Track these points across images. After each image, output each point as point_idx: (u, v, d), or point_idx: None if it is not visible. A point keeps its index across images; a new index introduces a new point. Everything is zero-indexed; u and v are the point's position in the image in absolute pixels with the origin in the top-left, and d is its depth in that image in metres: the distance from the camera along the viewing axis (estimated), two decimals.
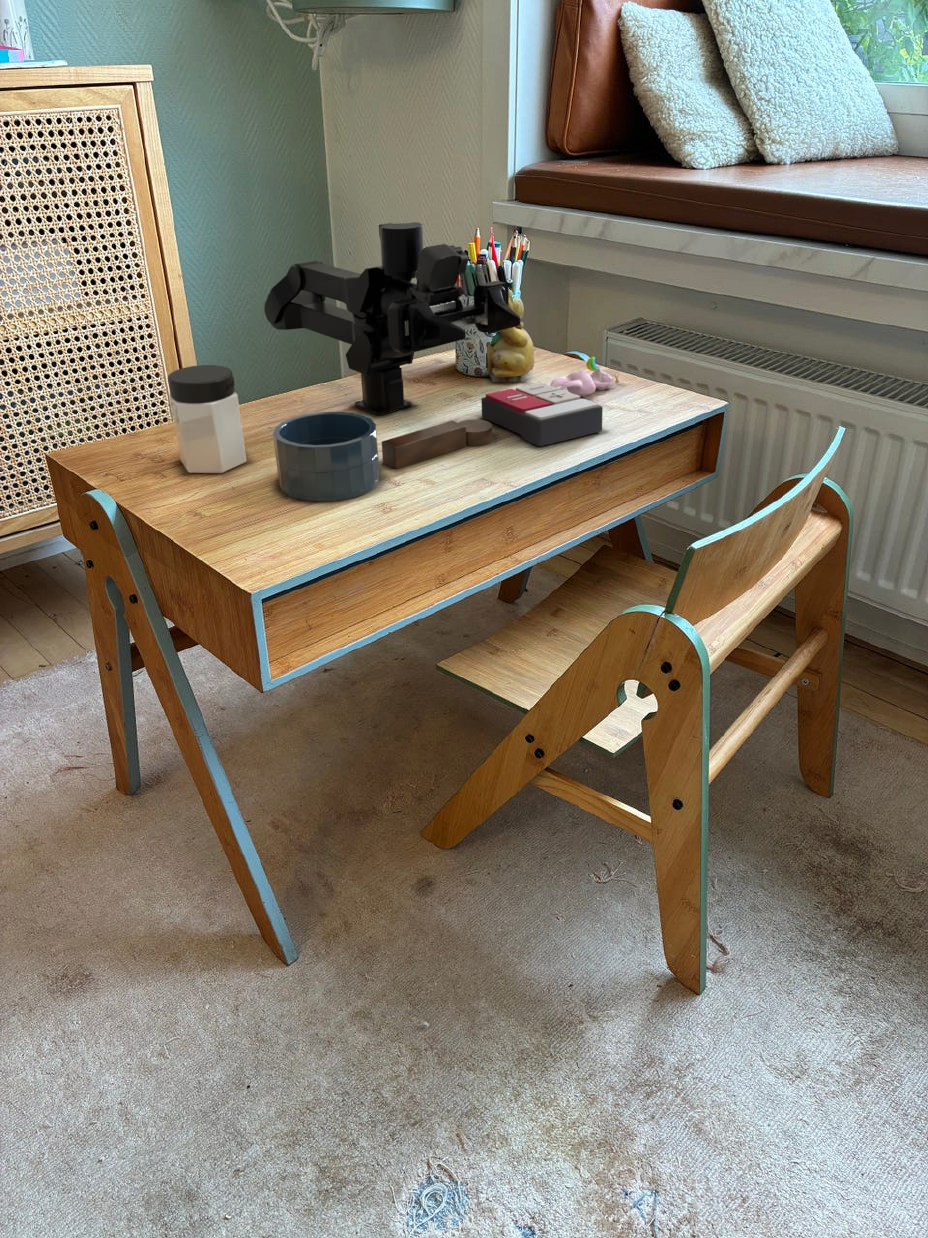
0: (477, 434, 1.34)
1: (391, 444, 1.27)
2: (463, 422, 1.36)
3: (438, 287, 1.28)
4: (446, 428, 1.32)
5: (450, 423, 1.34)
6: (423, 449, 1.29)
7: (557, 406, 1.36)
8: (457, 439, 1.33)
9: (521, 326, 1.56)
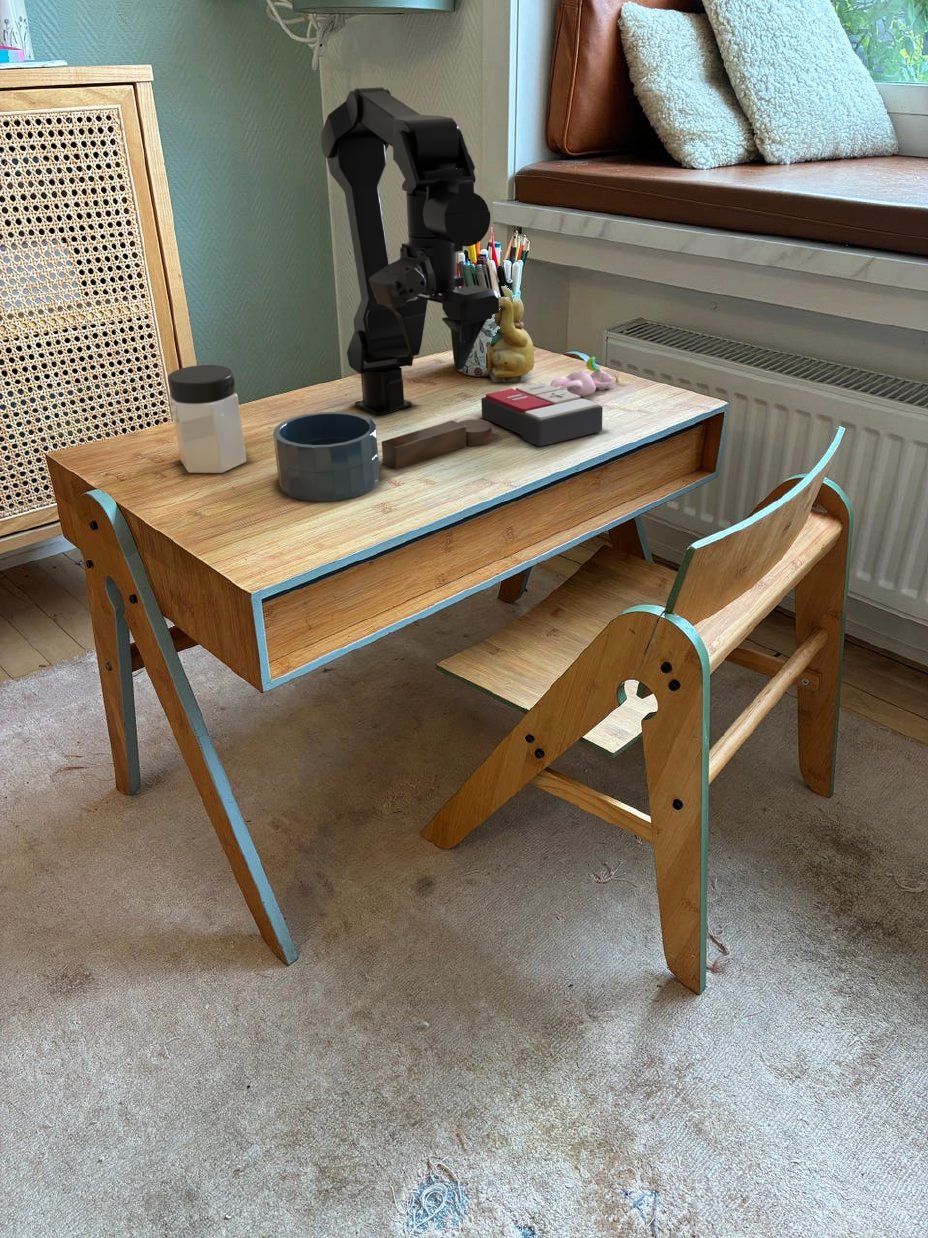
0: (477, 434, 1.34)
1: (391, 444, 1.27)
2: (463, 422, 1.36)
3: None
4: (446, 428, 1.32)
5: (450, 423, 1.34)
6: (423, 449, 1.29)
7: (557, 406, 1.36)
8: (457, 439, 1.33)
9: (521, 326, 1.56)
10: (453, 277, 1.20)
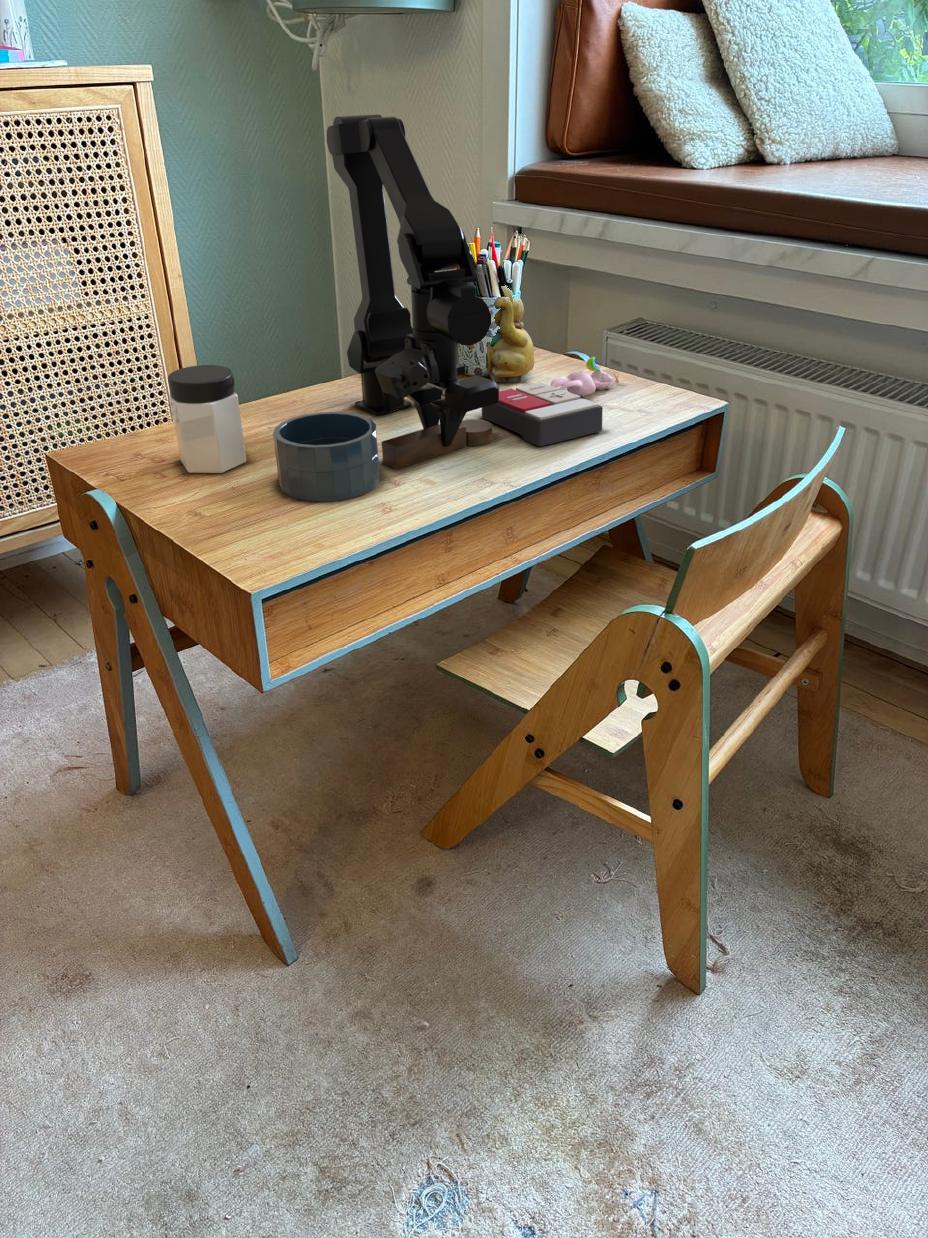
0: (477, 434, 1.34)
1: (391, 444, 1.27)
2: (463, 422, 1.36)
3: None
4: None
5: None
6: (423, 449, 1.29)
7: (557, 406, 1.36)
8: (457, 439, 1.33)
9: (521, 326, 1.56)
10: (455, 366, 1.26)
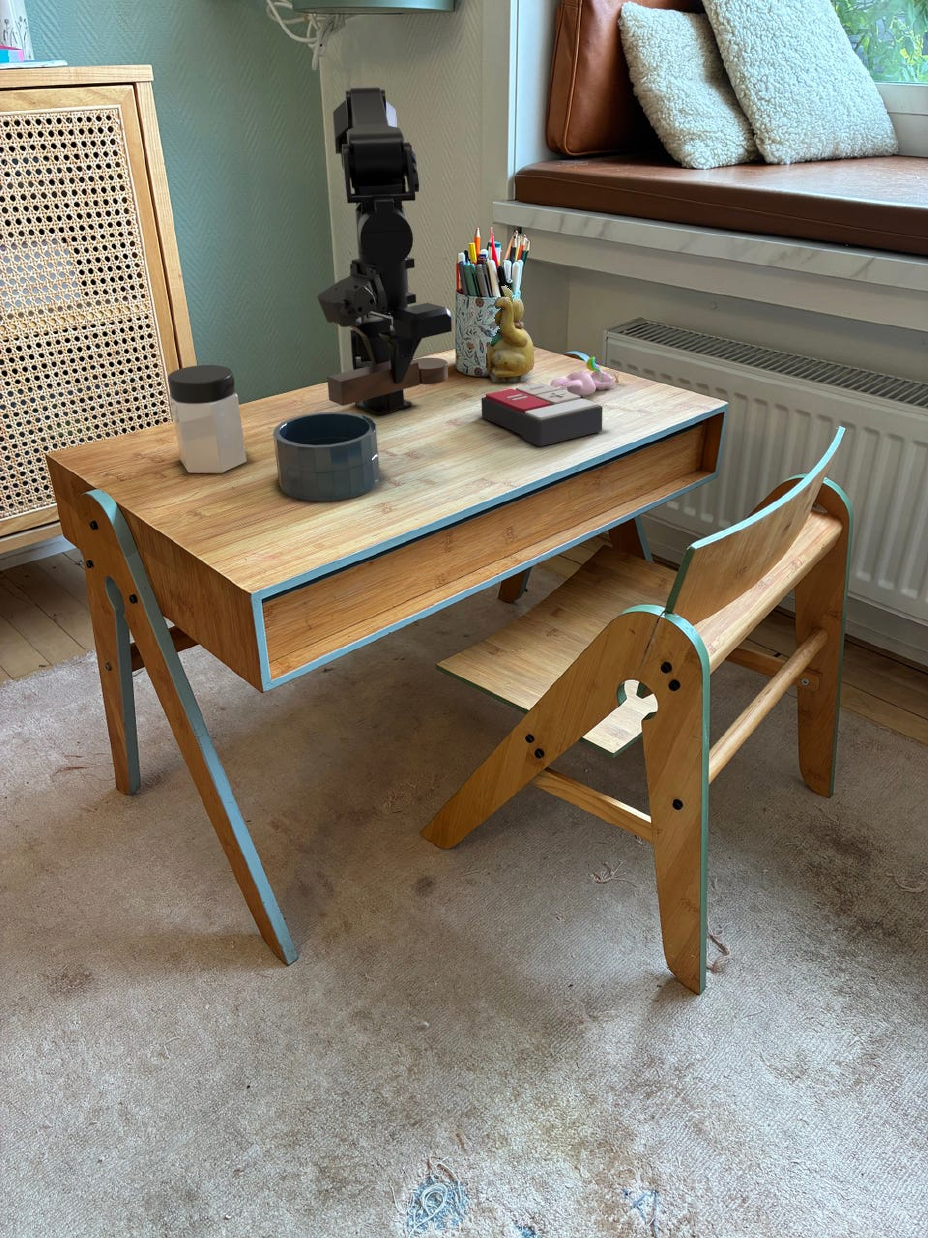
0: (431, 370, 1.25)
1: (337, 379, 1.18)
2: (417, 360, 1.28)
3: None
4: None
5: None
6: (372, 385, 1.20)
7: (557, 406, 1.36)
8: (410, 376, 1.24)
9: (521, 326, 1.56)
10: (405, 294, 1.17)
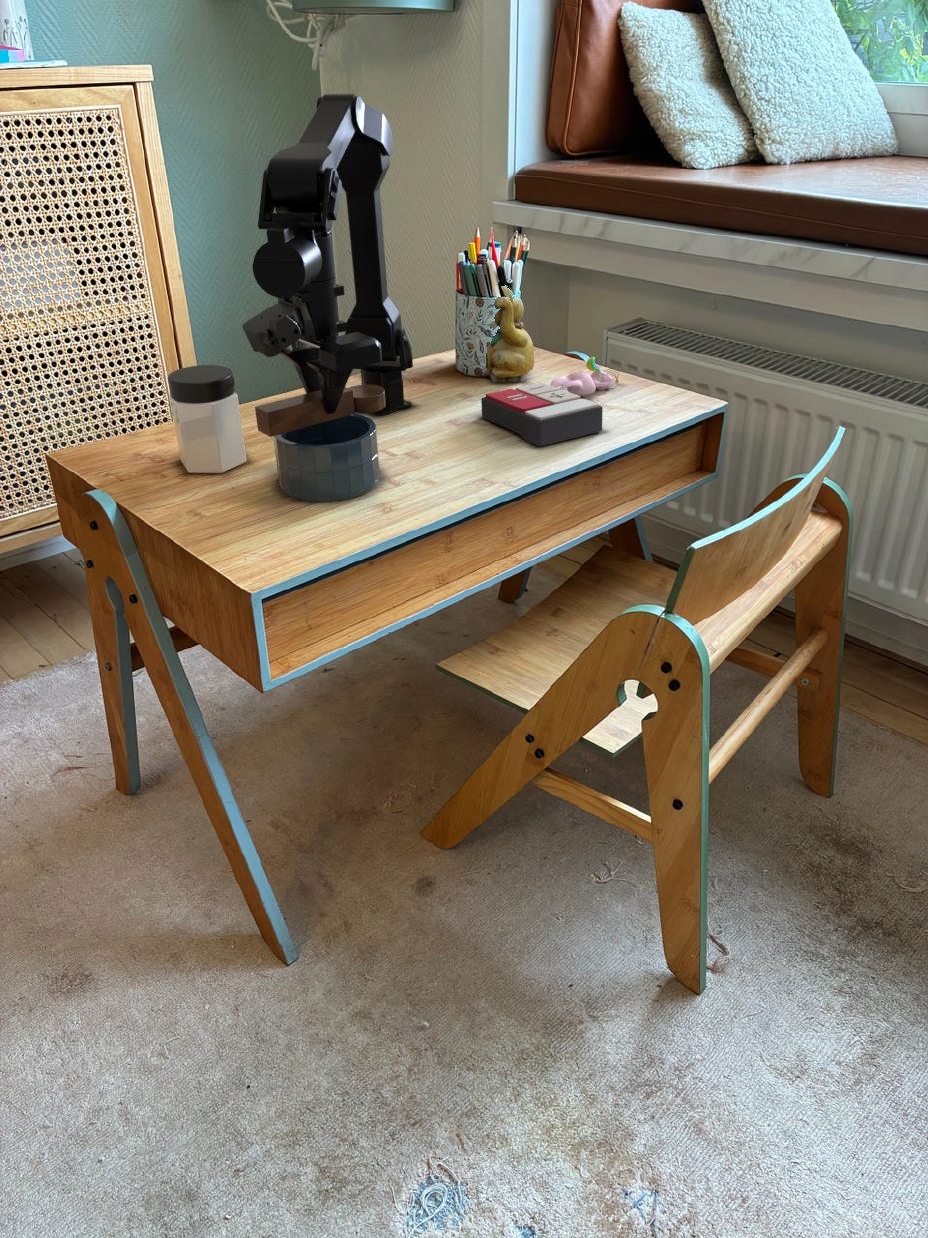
0: (366, 399, 1.21)
1: (264, 409, 1.14)
2: (353, 388, 1.24)
3: None
4: None
5: None
6: (302, 415, 1.17)
7: (557, 406, 1.36)
8: (343, 405, 1.20)
9: (521, 326, 1.56)
10: (334, 322, 1.13)
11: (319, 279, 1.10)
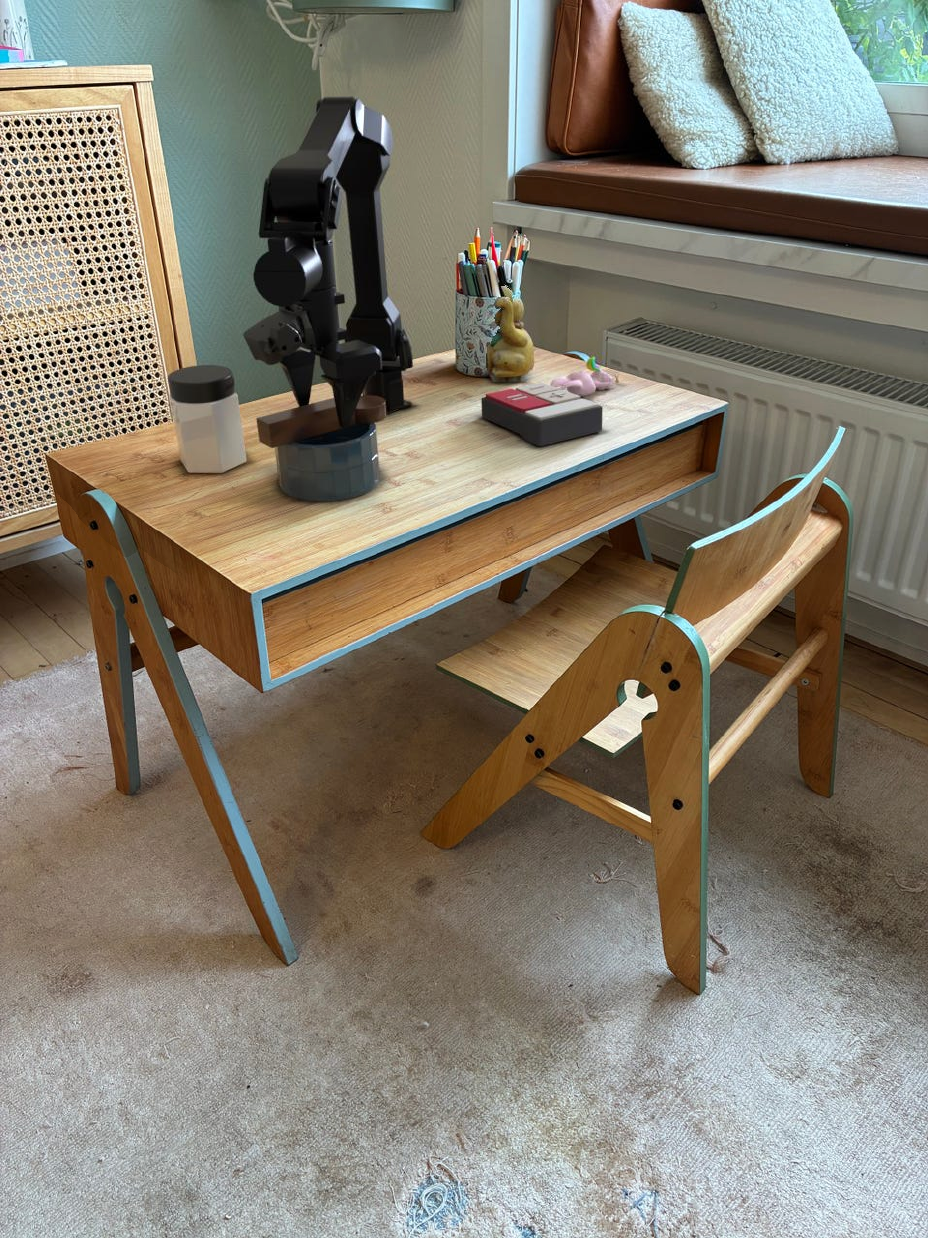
0: (367, 410, 1.21)
1: (265, 421, 1.15)
2: None
3: None
4: (331, 404, 1.20)
5: None
6: (303, 427, 1.17)
7: (557, 406, 1.36)
8: None
9: (521, 326, 1.56)
10: (335, 330, 1.14)
11: (320, 287, 1.10)
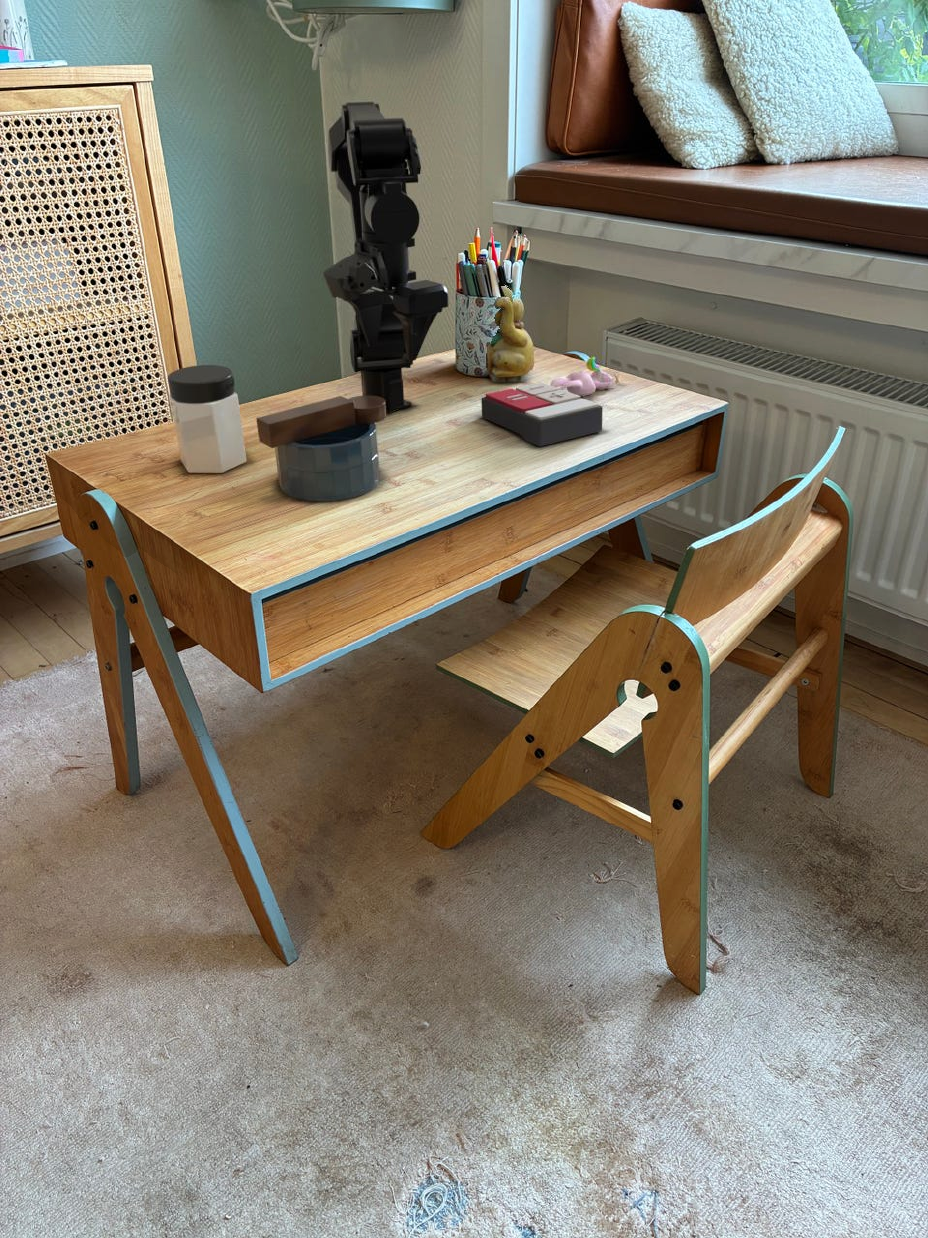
0: (367, 410, 1.21)
1: (265, 421, 1.15)
2: (354, 399, 1.24)
3: None
4: (331, 404, 1.20)
5: (337, 398, 1.22)
6: (303, 427, 1.17)
7: (557, 406, 1.36)
8: (344, 416, 1.21)
9: (521, 326, 1.56)
10: (405, 271, 1.25)
11: None
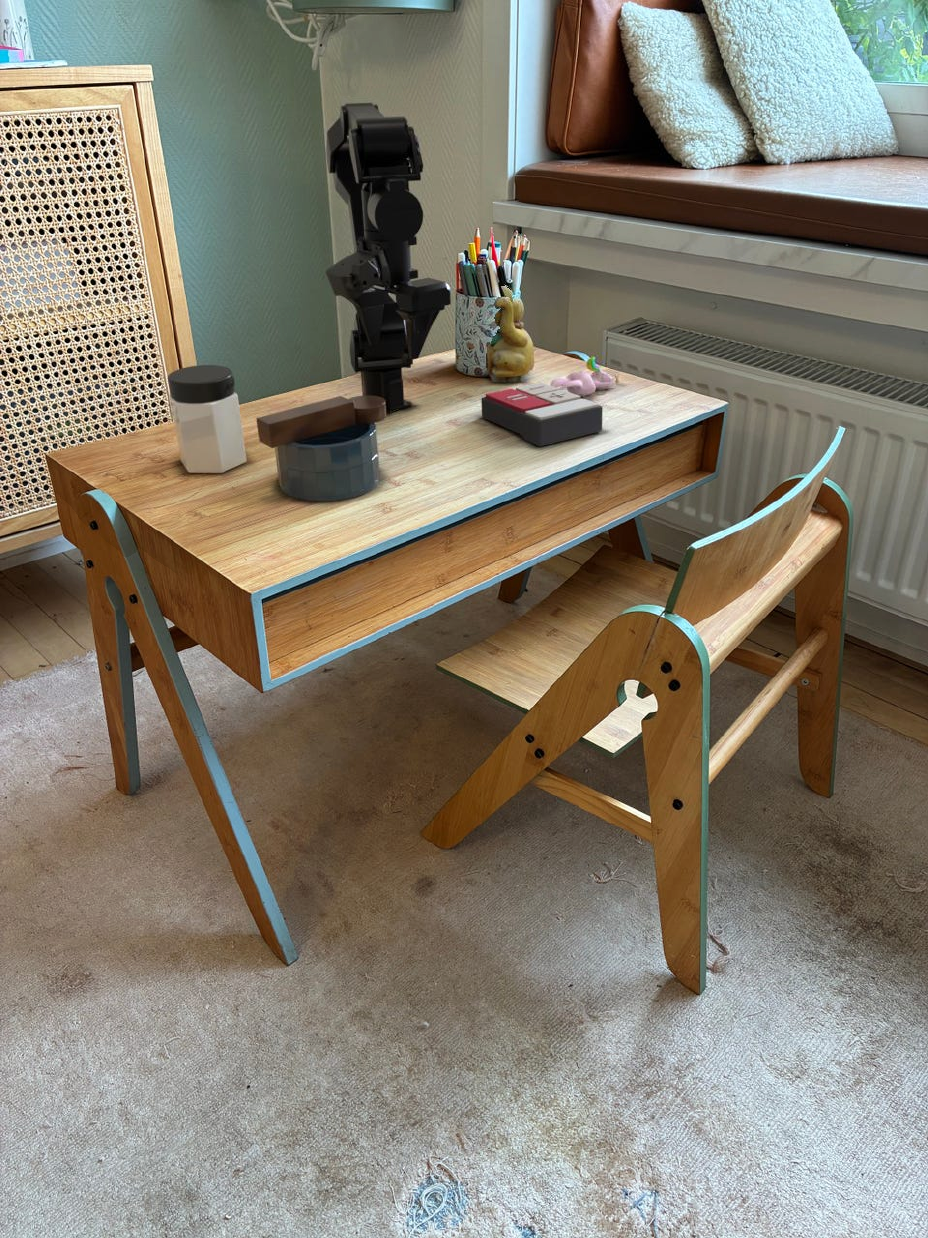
0: (367, 410, 1.21)
1: (265, 421, 1.15)
2: (354, 399, 1.24)
3: None
4: (331, 404, 1.20)
5: (337, 398, 1.22)
6: (303, 427, 1.17)
7: (557, 406, 1.36)
8: (344, 416, 1.21)
9: (521, 326, 1.56)
10: (407, 269, 1.25)
11: None
